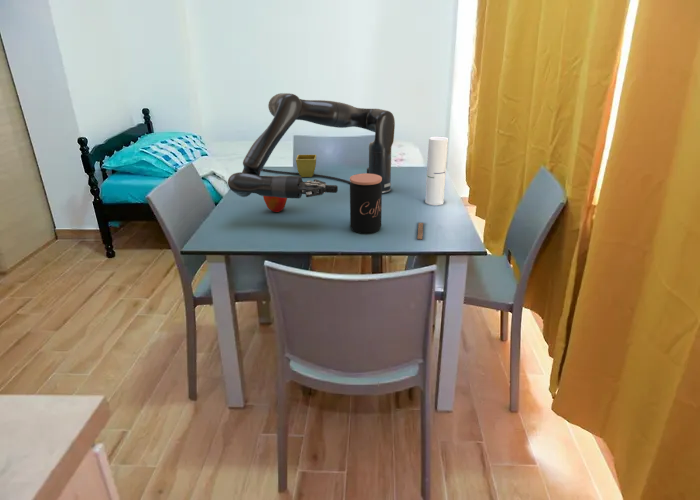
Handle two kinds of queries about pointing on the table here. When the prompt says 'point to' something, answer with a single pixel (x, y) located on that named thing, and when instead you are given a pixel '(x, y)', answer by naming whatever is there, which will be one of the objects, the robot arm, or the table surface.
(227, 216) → the table surface
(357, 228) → the coffee jar
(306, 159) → the flower pot
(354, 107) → the robot arm
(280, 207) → the apple
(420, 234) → the strip
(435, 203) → the cylindrical container
